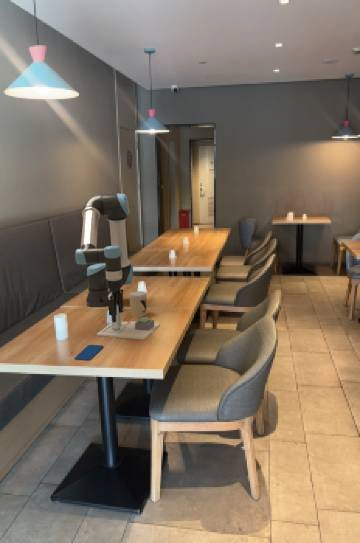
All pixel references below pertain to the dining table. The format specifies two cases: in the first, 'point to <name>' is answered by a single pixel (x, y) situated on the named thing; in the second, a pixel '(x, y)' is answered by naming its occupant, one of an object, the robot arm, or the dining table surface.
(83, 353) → the smartphone
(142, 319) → the button
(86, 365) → the dining table surface
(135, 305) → the coffee cup
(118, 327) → the marker
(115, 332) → the board
